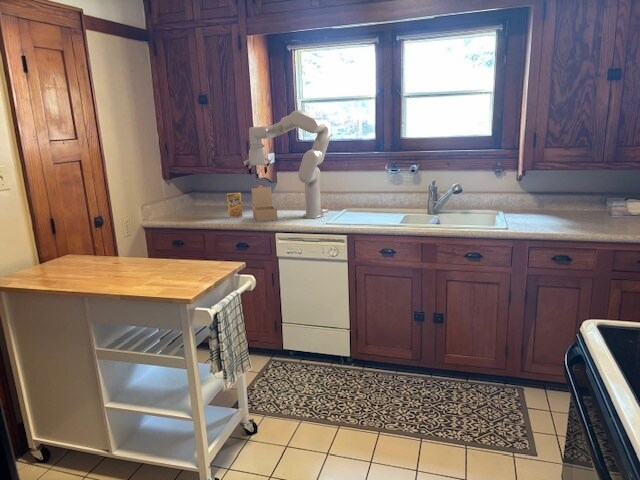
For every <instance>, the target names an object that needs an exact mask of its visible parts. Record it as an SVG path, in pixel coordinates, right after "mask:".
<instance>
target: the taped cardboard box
mask: <svg viewBox="0 0 640 480" xmlns="http://www.w3.org/2000/svg"><path fill="white" fill-rule="evenodd" d="M251 199H252V202H251V203H252V208H253V207H263V206H273V193H272V186H267V187H266V186H265V187H264V186H263V185H262V184H261V185H257V187H254V188H251Z"/></svg>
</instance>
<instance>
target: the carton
mask: <svg viewBox="0 0 640 480" xmlns="http://www.w3.org/2000/svg"><path fill="white" fill-rule="evenodd" d="M252 217H253V219H254V221H255V222H256V223H261V221H262V222H269V220H272V221H278V210H277V208H276V206H274V205H266V206H255V207H253V206H252Z"/></svg>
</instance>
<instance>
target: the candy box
mask: <svg viewBox="0 0 640 480" xmlns="http://www.w3.org/2000/svg"><path fill="white" fill-rule="evenodd" d="M225 195H226V204H227V205H226V206H227V215H228V218H229V219H231V218H243V217H244V216H243V203H242V193H241V192H231V193H230V192H229V193H226V194H225Z"/></svg>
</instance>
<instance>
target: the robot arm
mask: <svg viewBox="0 0 640 480" xmlns="http://www.w3.org/2000/svg"><path fill="white" fill-rule="evenodd" d="M296 128H298V129H301V130H303V131H305V132H307V133H310V134H316V136H315V138H314V141H313V145H312V148H311V149H309V150H307V151H305V153H304V154H303V156H302V160H301V162H300V166H299V169H298V173H297V175H298V179H299V181H300V182H301V183H304V204H305V205H304V207H305V213H303V218H305V219H319V218H322V217H324V216H325V215H324V214H326V213H327V214H328V213H329V209H322V208H321V205H322V204H321V175H322V174H321V170H320V168H319V167H318V165H320V164H322V163H323V161H324V159H325V156H326V153H327V150H328V147H329V143H330V139H331V135H332V128H331V126H330V124H329V122H328V121H327V120H326V119H324V118H321V117H314V118H313V117H311V116H310V115H309V114H308V112H306V111H305V110H300V109H299V110H294V111H292V112H290V114H288V115H287V116H284V117H282V118H281V119H280V121H279V122H276V123H274V124H272V125H266V126H264V125H263V126H253V127H249V128H248V133H249V134H248V135H249V137H248V138H249V147H250V149H249V150H248V159H246V160H244V161H243V164H244V166H245V167H246V168H247V169H248V174H249V175H250V176H251V175H253V174H252V166H262V165H263V166H264V169H263V170H264V174H265V175H267V174H268V167H269V166H270V163H271V160H272V159H269V158H266V155H265V150H264V147H265V144H263V141H262V140H264V139H265V140H267V139H273V138H275V137H279V136H281V135H282V134H285V133H287V132H289V131H291V130H294V129H296ZM266 161H267V163H266ZM248 164H249V165H248Z"/></svg>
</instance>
